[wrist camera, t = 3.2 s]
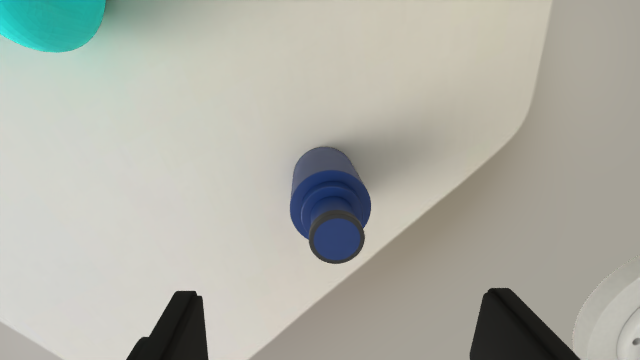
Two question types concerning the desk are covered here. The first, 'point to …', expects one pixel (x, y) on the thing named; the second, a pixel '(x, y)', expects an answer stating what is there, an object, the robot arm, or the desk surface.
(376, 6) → the desk surface
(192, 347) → the robot arm
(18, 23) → the pair of turquoise discs
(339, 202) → the bottle
